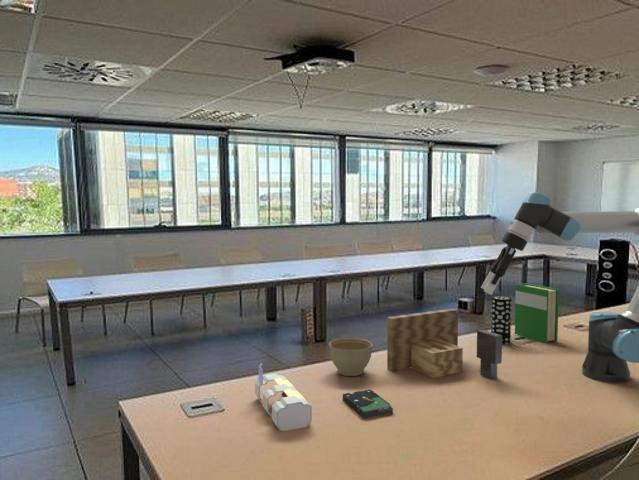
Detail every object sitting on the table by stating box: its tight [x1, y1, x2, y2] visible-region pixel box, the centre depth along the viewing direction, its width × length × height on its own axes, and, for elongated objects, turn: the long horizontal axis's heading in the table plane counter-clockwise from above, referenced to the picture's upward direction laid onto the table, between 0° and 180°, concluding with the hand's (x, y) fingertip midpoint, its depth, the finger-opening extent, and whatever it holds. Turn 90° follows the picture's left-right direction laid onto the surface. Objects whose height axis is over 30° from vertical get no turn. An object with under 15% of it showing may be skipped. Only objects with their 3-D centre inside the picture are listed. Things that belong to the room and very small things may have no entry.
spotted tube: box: [490, 295, 512, 345], centre depth 221 cm, size 8×8×20 cm
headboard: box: [386, 308, 464, 379], centre depth 186 cm, size 32×16×20 cm, turn 117°
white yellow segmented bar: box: [254, 362, 313, 432], centre depth 149 cm, size 25×10×13 cm, turn 21°
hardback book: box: [514, 282, 560, 345], centre depth 227 cm, size 18×7×24 cm, turn 25°
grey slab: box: [476, 329, 503, 380], centre depth 178 cm, size 3×9×16 cm, turn 27°
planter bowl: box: [328, 337, 373, 377], centre depth 183 cm, size 16×16×11 cm
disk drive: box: [342, 389, 394, 420], centre depth 153 cm, size 10×3×15 cm
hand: (485, 291), depth 166 cm, fingers open, 13 cm apart
